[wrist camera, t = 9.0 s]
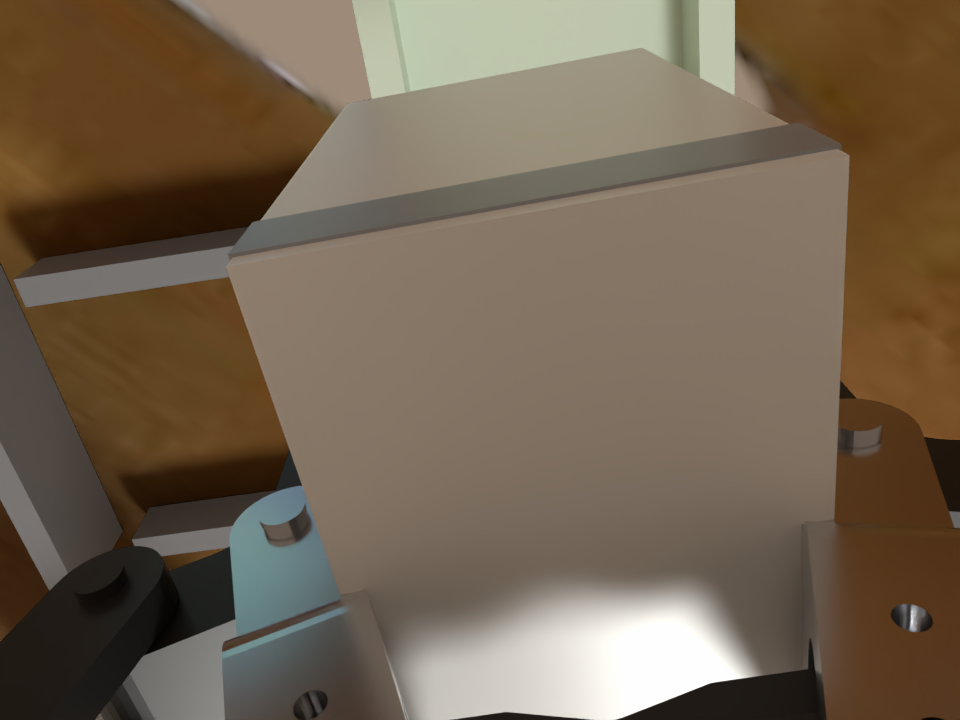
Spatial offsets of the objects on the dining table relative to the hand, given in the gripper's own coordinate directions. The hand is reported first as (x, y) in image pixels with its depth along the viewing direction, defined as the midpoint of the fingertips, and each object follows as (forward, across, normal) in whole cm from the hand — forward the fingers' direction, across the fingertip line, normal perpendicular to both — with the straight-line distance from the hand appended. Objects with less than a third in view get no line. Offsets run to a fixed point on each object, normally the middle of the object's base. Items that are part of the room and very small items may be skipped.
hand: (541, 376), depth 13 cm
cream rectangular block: (+1, 0, 0) cm, 1 cm away
